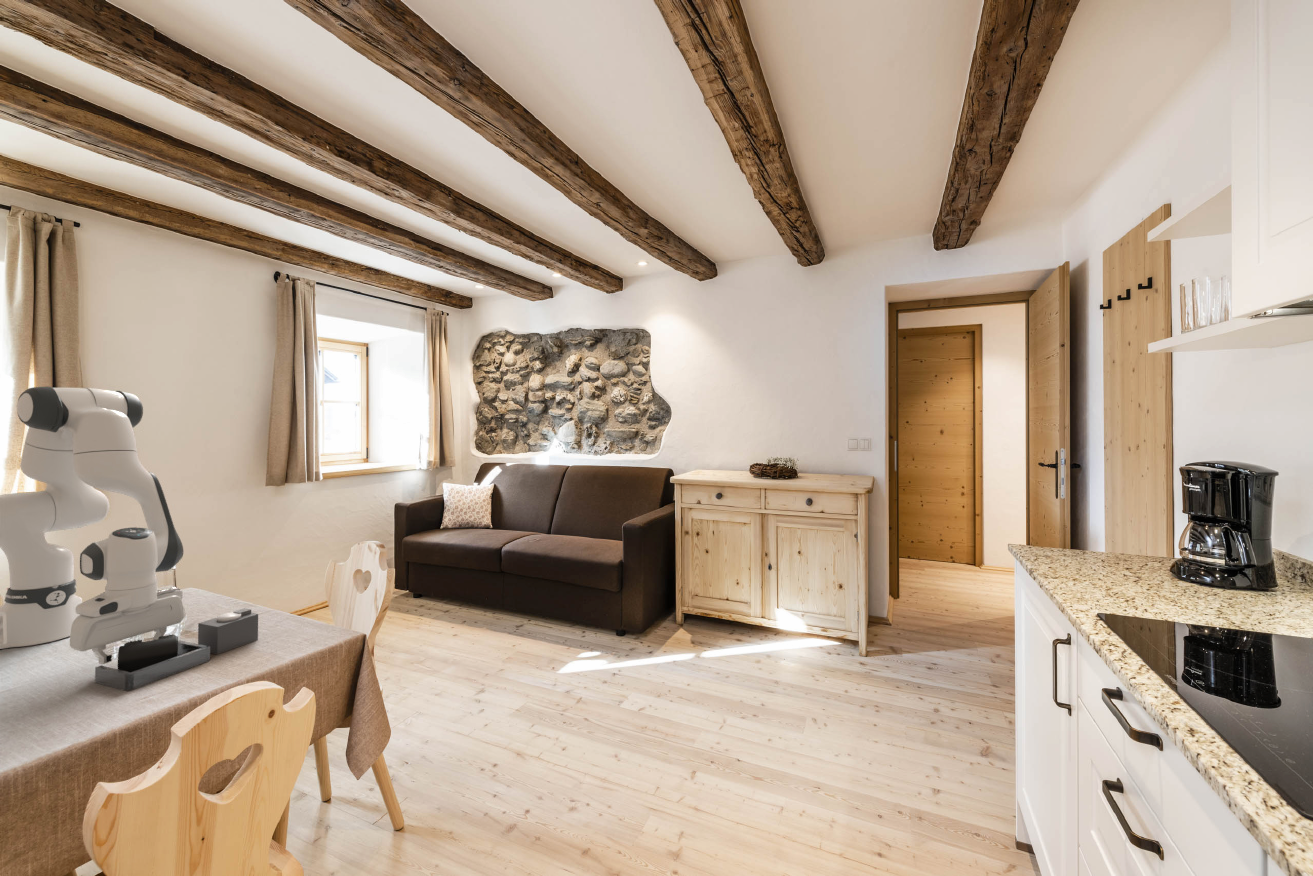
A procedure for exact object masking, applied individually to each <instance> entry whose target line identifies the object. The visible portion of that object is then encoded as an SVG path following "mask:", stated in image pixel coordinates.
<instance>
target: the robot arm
mask: <svg viewBox="0 0 1313 876" xmlns="http://www.w3.org/2000/svg"><path fill="white" fill-rule="evenodd" d="M138 397H139V396H137V395H135V394H133V393H131V392H127V391H123V390H109V389H102V388H94V387H51V386H36V387H29V388H27V389H25V390H24V391H23V392H22V393H21V394H20V395H19V397H18V399H17V402H16V403H17V404H16V412H17V416H18V419H19V420H20V422H21V423H23V424H24V425H26V426H27V427H28V430H27V431H26V432H27V433H26V436H25V441H24V445H23V450H22V455H21V459H20V464H19V467H20V470H21V472H22V473H23V474H24V475H25V476H27V477H28V478H30V479H32V480H35V481H38V482H41V483H45V484H46V488H45V489H44V490H41V491H29V492H13V493H4V494H0V549H1V551H3V553H4V555H5V556H6V558H7V562H8V570H9V587H7V588H6V592H5V596H4V597H5V599H4V603H3V604H2V605H1V606H0V650H1V649H8V648H18V647H19V648H20V647H27V646H34V645H39V644H40V645H41V644H45V643H46V644H47V643H50V642H54V641H58V640H61V639H65V638H69V647H70V648H71V649H72V650H74V651H78V652H87V651H89V650H92V652H93V654H95V655H96V656H98V663H99V664H100V665H105V664H108V663H111V662H112V660H113V659H112V657H113V656H112V655H113V654H110V653H106V652H105V651H104V650H106V649H107V645H109V644H113V643H117V642H119V641H123V640H124V641H125V640H127V639H130V638H134V637H137V636H140V635H143V634H147V633H150V632H153V631H154V632H155V634H154V635H153V638H151V639H149V640H148V641H152V640H158V639H159V637H161V636H165V634H166V632H167V627H170V626H174V625H177V624H180V623H181V622H182V621H183V619H184V618H185V610H184V609H185V608H184V605H183V604H184V603H183V590H182V589H180V588H178V587H176V586H174V587H170V588H166V589H160V590H158V578H157V575H156V573H159V572H160V573H162V572H167V571H170V570H171V569H172V568H174V567H175V566H176V565H178V563H179V562H180V561H181V559H183V557H184V546H183V543H182V541H181V538H180V535H179V534H178V532H177V530H176V528H175V524H174V522H173V519H172V516H171V513H170V508H169V506H168V503H167V500H166V496H165V494H164V493H165V492H164V491H163V488H162V485H161V483H160V481H159V479H158V477H157V475H156V474H154V473H153V472H150V471H148V470H147V469H146V467H144V466H143V464H142V463H141V460H140V458H139V455H138V453H139V452H138V445H137V440H136V435H135V431H134V429H133V428H134V427H136V426H137V425H138V424H140V422H141V421H142V418H143V415H144V406H143V403H142V401H141V400H140V399H139V398H138ZM100 490H102V491H106V492H111V493H117V494H121V495H124V496H127V497H129V498H132V499H134V500H136V501H137V502H138V504H139V505H140V507H141V510H142V513H143V517H144V520H145V523H146V526H147V528H146V527H136V526H135V527H125V528H120V529H116V530H114V531H112V532H110V534H109V536H108V537H107V538H105V539H102V540H98V541H94V542H92V543H90V544H89V545H87V546H86V547H85V548H84V549H83V550H82V551H81V552H80V553H79V554H80V555H79V570H80V574H81V575H83V576H85V577H86V578H88V579H90V580H93V581H106V584H105V587H104V590H105V591H104V592H102V593H100V594H97V595H95V596H94V597H91V598H89V599H87V600H85V601H83V598H82V597H80V596H79V595H76V592H77V586H78V585H77V581H76V579H75V578H74V572H75V571H74V568H75V567H74V566H75V564H74V561H75V560H74V559H75V557H74V553H73V551H72V550H71V549H69V548H67V547H66V546H62V545H58V544H54V543H49V542H48V541H47V539H46V538H45V533H49V532H55V531H56V532H57V531H63V530H64V531H67V530H73V529H79V528H80V529H81V528H84V527H88V526H91V525H95V524H98V523H101V522H103V520H105V519H106V517H107V516H108V514H109V512H110V509H111V507H110V506H111V504H110V500H109V498H108V497H107V495H105V493H104V492H102V491H100Z"/></svg>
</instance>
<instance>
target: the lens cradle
mask: <svg viewBox="0 0 1313 876" xmlns="http://www.w3.org/2000/svg"><path fill="white" fill-rule="evenodd" d="M209 661H211V653H210V646H205V645H200V644H198V643H195V642H189V641H185V640H181V639H178V656H177V657H174V658H171V659H168V660H165V661H162V662H159V663H157V664H154V665H151V666H148V667H145V668H142V669H139V670H136V671H134V672H127V671H123V670H118V668H113V667H111V666H105V665H103V664H100V665H98V666H95V667H94V668H95V670H94V673H95V674H94V683H95V684H99V685H102V686H105V687H110V688H114V689H118V690H122V691H126V692H130V691H132V690H135V689H137V688H140V687H143V686H145V685H149V684H151V683H153V682H156V681H159V680H162V679H164V678H167V677H169V676H174V675H175V674H178V673H181V672H184V671H186V670H188V669H191V668H194V667H197V666H199V665H201V664H204V663H207V662H209Z"/></svg>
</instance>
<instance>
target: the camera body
mask: <svg viewBox="0 0 1313 876" xmlns="http://www.w3.org/2000/svg"><path fill="white" fill-rule="evenodd" d="M197 623H198V622H197ZM197 625H198V627H197V628H198V629H197V631H198V632H197V633H198V634H197V635H198V637H197V640H198V642H197V644H200V645H205V646H210V654H213V655H220V654H223V653H225V652H228V651H230V650H234V649H236V648H239V647H241V646H244V645H247V644H250V643H253V642H256V641H257V640H258V639H259V613H254V612H252V609H251V608H246V607H244V608H242V609H239V610H235V611H232V612H227V613H222V614H220V615H217V617H215V618H211V619H209V620H205V621H204V620H203V621H202V622H201V621H200V622H199V623H198V624H197Z"/></svg>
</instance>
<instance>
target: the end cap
mask: <svg viewBox="0 0 1313 876" xmlns="http://www.w3.org/2000/svg"><path fill="white" fill-rule="evenodd" d="M151 640H152V639H151ZM178 640H179V636H178V635H176V634H168V635H167V634H166V635H164V636H161V637H159V639H158V640H152V641H149V640H147V641H143V639H137V640H134V641H131V640H130V641H128V642H125V643H124V645H120V646H119V647H118V652H117V653H118V654H117V669H118V670H123V671H127V672H134V671H136V670H139V669H142V668H145V667H148V666H151V665H154V664H157V663H159V662H162V661H165V660H168V659H171V658H174V657H177V656H178Z"/></svg>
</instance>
